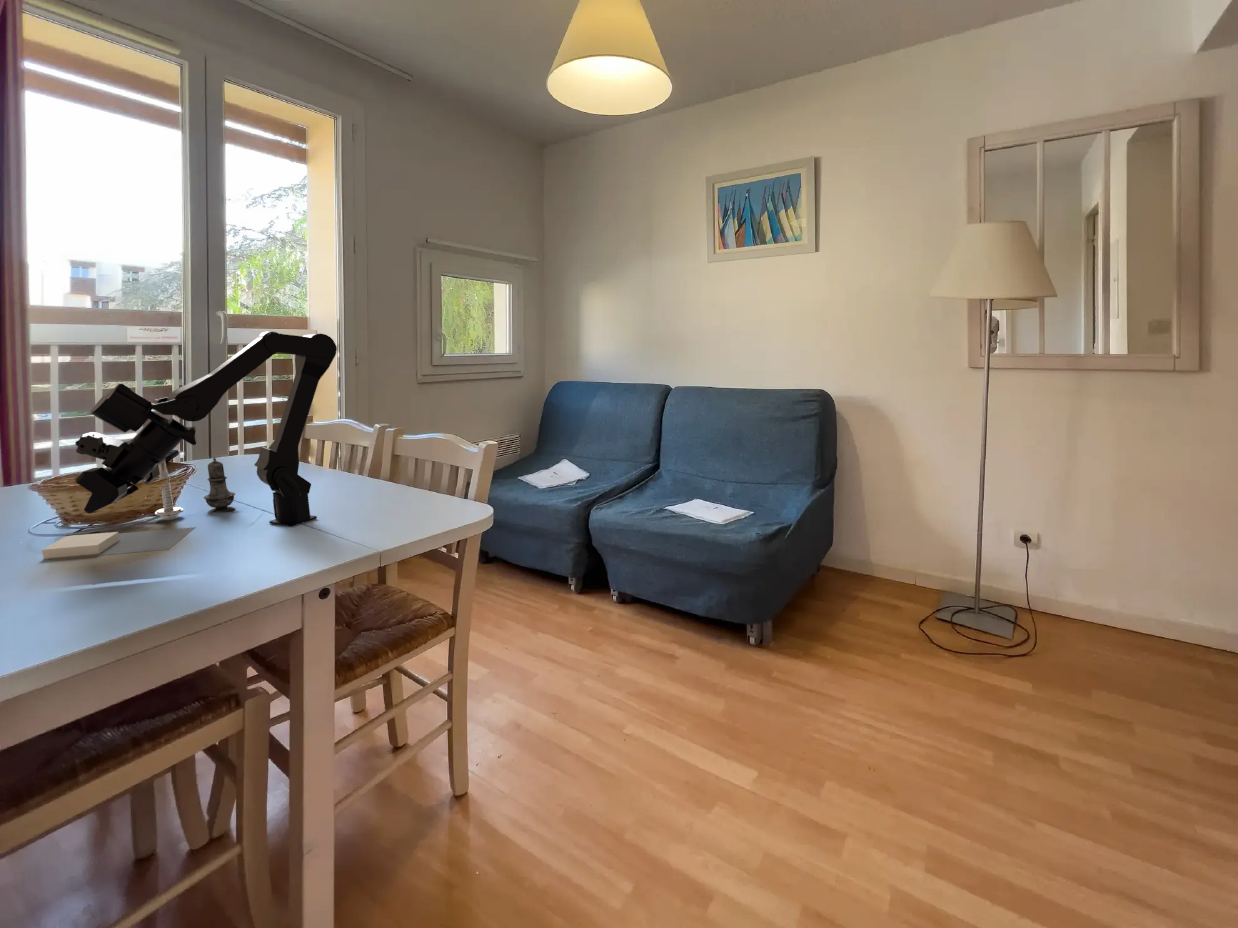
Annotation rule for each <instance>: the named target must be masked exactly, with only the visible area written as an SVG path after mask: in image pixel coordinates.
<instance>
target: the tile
mask: <svg viewBox="0 0 1238 928" xmlns="http://www.w3.org/2000/svg"><path fill="white" fill-rule="evenodd" d="M119 540H120V539H119V531H113V532H101V533H100V532H99V533H90V534H89V533H87V534H76V535H66V536H64V537H62V538H60V539H59V540H57V541H55V542H53V543H52V544H50V545H48V546H46V547H44V548H42V549H41V551H42V557H43V558H42V559H43V560H45V559H50V558H57V557H69V556H80V555H91V554H99V553H101V552H103V551H104V550H106V549H107V548H109V547H110V546H112V545H113V544H115V543H116V542H118V541H119Z"/></svg>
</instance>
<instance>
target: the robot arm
mask: <svg viewBox="0 0 1238 928" xmlns="http://www.w3.org/2000/svg"><path fill="white" fill-rule="evenodd" d="M337 350H338V349H337V344H336V342H335V341H334V339H333V338H332V337H331V336H329V335H328V334H325V333H307V334H304V335H302V336H301V335H295V334H294V335H293V334H285V333H279V332H276V331H263V332H261V333H259V335H258V336H257V337H256V339H253V341H251V342H250V343H249V344H248V345H246V346H244V347H243V348H242V349H240V351H238V352H237V353H235V354H234V355H232V356H231V357H230V358H228V359H227V360H226V361H224V362H222V364H221V365H219V366H218V367H216V368H215V369H213V371H211V372H210V373H208V374H206V375H204V376H201V377H200V378H198V379H195V380H193V381H190V382H188V383H186V384H184V385H183V386H181V387H179V388H177V389H175V390H173V391H171V392H170V393H169V395H168V396H167V397H161V398H158V399H157V398H155V399H153V400H147V399H146V398H144V397H142V396H141V395H139V394H138V393H136V392H134V391H133V390H132V389H131V388H130V387H128V386H127V385H125V384H123V383H121V382H119V383H117V385H115V387H114V388H112V389H111V390H110V391H109V392H108V393H107V394H106V395H103V396H101V398H100V399H99V400H98V401H97V402H96V403H95V404H94V406H93V407H92V409H91V410H90V412H89V414H90V415H91V416H94V417H95V418H96V419H99V420H101V421H103V422H104V423H106V424H108V425H109V426H111V427H113V428H115V429H117V430H118V431H120V432H122V433H124V434H125V433H127V432H128V431H130V430H131V431H133V432H137V431H138V430H139V432H138V433H137V434H135V436H134V437H133V438H132V439H130V440H129V441H123V440H121V439H118V438H115V437H112V436H110V435H107V434H103V433H100V432H97V431H96V432H95V431H90V432H86V433H83V434H81V436H80V438H79V439H78V440H76V441H75V446H76V447H77V448H76V449H75V452H76V453H77V454H79V455H86V456H90V457H92V458H97V459H100V460H103V461H102V462H101V465H103V466H104V467H106V468H104V467H92V468H89V469H87V470H84V471H83V472H81V474H80V475H78V477H77V478H76V479H75V483H76V484H78V485H79V486H80V487H82V488H84V489H85V490H86V491H88V492H90V493H91V495H90V496H89V499H88V501H87V503H86V505H85V507H84V508H83V511H84V512H85V513H87V514H93V513H95V512H97V511H99V510H100V509H104V508H105V507H107V506H109V505H112V504H114V503H115V502H117V501H120V500H122V499H124V498H126V497H128V496H130V495H132V494H133V493H136V492H137V491H139V487H138V486H137V485H138V484H140V483H142V482H144V484H147V485H150V484H152V483H154V481H156V479H158V477H159V475H160V472H159V467H158V465H159V464H161V463H163V462H164V461H165V462H166V460H167V458H166V457H168V455H170V453H171V452H172V451H174V450H175V448H176V447H177V446H179V444H180V443H181V442H182V441H185V442H187V443H188V444H190V445H192V446H196V444H197V439H198V437H197V434H196V429H197V428H196V426H194V425H192V426H187V425H184V424H183V423H181V422H179V421H178V420H176V419H175V418H178V419H181V420H183V421H186V422H199V421H201V420H203V419H204V418H206V417H207V416H208V415H209V414H210V412H211V411H212V410H213V409H214V408H215V407H216V406H217V404H218V403H219V402H220V400H221V399H222V397H223V396H224V395H225V394H226V393H227V391H228V390H229V389H231V388H233V386H235V385H236V384H237V383H239V382H240V381H241V380H243V379H244V378H245V377H247V376H248V375H249V374H250V373H252V372H253V371H255V370H256V369H257V368H259V366H261V365H262V364H264V363H265V362H266V361H267V360H268V359H270V358H271V357H273V356H274V355H275V354H277V353H279V354H285V355H294V367H295V369H294V370H295V373H294V374H295V375H294V378H293V381H292V383H291V388H290V390H289V394H288V397H287V400H286V403H285V406H284V409H283V412H282V416H281V419H280V422H279V426H278V428H277V432H276V435H275V438H274V440H273V442H272V443H271V444H270V445H269V447H268V448H267V447H265V446H263V445H262V446H260V449H259V453H258V454H259V455H258V458H257V461H256V462H255V463H254V467H256V475H257V477H258V479H259V480H260V481H261V482H262V483H264V484H265V485H267V486H269V488H270V490H271V491H272V497H273V498H272V502H273V503H272V504H273V513H274V518H275V519H271V520H269V524H272V525H277V526H283V527H285V526H286V527H294V526H297V525H300V524H305V523H307V522H311V521H313V520H317V519H318V516H317V515H311V510H310V501H309V493H310V490H311V487H312V483H311V482H310V481H309V480H306V479H305V478H303V477H302V476H300V475H299V466H300V455H299V446H300V442H301V439H302V435H303V432H304V429H305V426H306V422H307V420H308V417H309V415H310V414H309V413H310V410H311V408H312V405H313V400H314V397H315V394H316V391H317V388H318V386H319V382H320V380H321V378H322V377H323V376H324V374H325V373H326V372H327V371H328V370H329V368H330V366H331V364H332V362H333V361H334V359H335V357H336V356H337ZM154 411H155V412H157V413H159V414H161V415H163V416H164V415H165V416H174V417H175V418H169V419H167V418H166V417H163V416H161V415H159V414H157V413H155V412H154ZM149 420H150V421H149ZM147 421H149V422H148V423H147V424H146V422H147ZM145 424H146V425H145ZM144 425H145V426H144ZM142 427H143V428H142ZM140 428H142V429H140Z"/></svg>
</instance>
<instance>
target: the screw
mask: <svg viewBox="0 0 1238 928" xmlns="http://www.w3.org/2000/svg"><path fill="white" fill-rule="evenodd" d="M157 467H158V468H159V472H160V475H159V476H158V477H159V478H158V480H160V479H166V478H168V477H169V478H170V475H169V472H168V468H167V464H166V460H165V461H164V462H163V463H161V464H159V465H158V466H157ZM165 484H166V485H165V486H164V488H163V489H162V491H161V492H160V493H161V496H162V498H161V499H162V505H163V506H162V507H163V508H159V509H158V510H156V511H155V512H154V515H155V516H158V517H159V516H160V518H161V519H162V521H172V520H176V519H177V518H179V515H180V513H182V512H184V508H183V507H181V506H174V503H173V502H174V500H173V498H174V497H173V495H172V493H173V492H171V491H172V489H171V488H172V487H171V486H172V484H171V483H170V482H168V481H167V482H166V483H165Z"/></svg>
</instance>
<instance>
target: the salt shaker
mask: <svg viewBox="0 0 1238 928" xmlns="http://www.w3.org/2000/svg"><path fill="white" fill-rule="evenodd" d="M207 470H208V471H207V473H208V478H207V481H208V482H209V493H208V494H206V495H205V496H203V499H204V500H205V502H206V504H207V505H208V506H209V507H211V509H209V510H208V511H207V513H206V514H219V513H231V512H232V513H233V512H235V511H236V508H235V507H233V506H230V505H231V504H232V503H234V499H235V495H236V493H235V492H232V491H229V489H228V486H227V480H226V479H228V476H225V470H224V464H223V463H222V462H220V461H218V460H217V458H216V457H213V458H212V461H211V462H209V463H208V465H207Z"/></svg>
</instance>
